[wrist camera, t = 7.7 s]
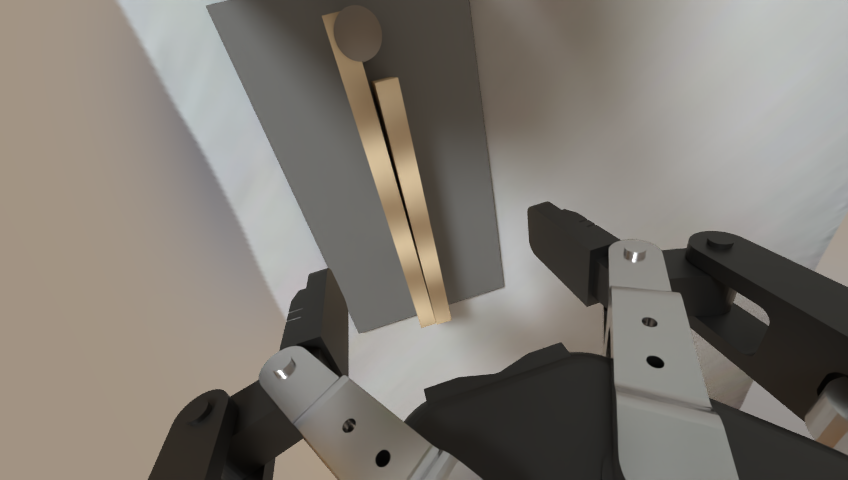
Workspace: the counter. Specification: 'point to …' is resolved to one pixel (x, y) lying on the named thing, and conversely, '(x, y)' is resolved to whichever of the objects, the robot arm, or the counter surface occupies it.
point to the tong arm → (411, 190)
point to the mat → (342, 146)
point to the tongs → (375, 135)
